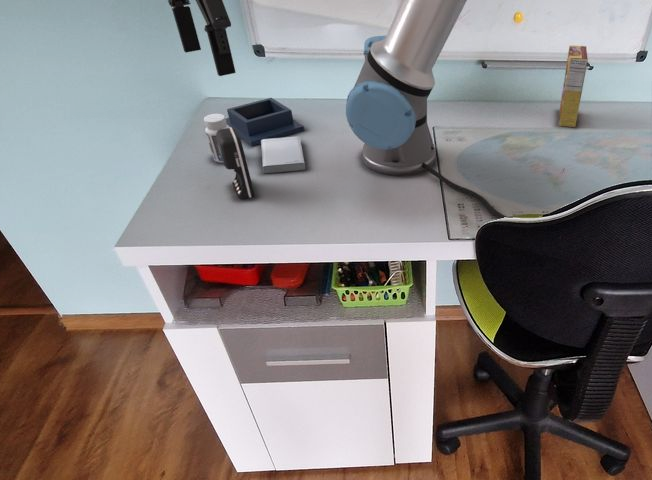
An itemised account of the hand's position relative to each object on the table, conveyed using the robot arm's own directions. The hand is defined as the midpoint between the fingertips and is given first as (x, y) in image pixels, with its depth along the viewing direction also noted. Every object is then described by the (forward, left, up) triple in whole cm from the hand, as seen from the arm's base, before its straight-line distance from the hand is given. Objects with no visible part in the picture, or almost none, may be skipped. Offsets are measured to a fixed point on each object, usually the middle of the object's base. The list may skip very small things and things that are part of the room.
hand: (209, 62), depth 90 cm
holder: (+18, -15, -21) cm, 32 cm away
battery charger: (-5, +2, -22) cm, 22 cm away
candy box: (-22, -75, -22) cm, 81 cm away
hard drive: (+3, -11, -22) cm, 24 cm away
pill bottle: (+10, -2, -22) cm, 24 cm away
